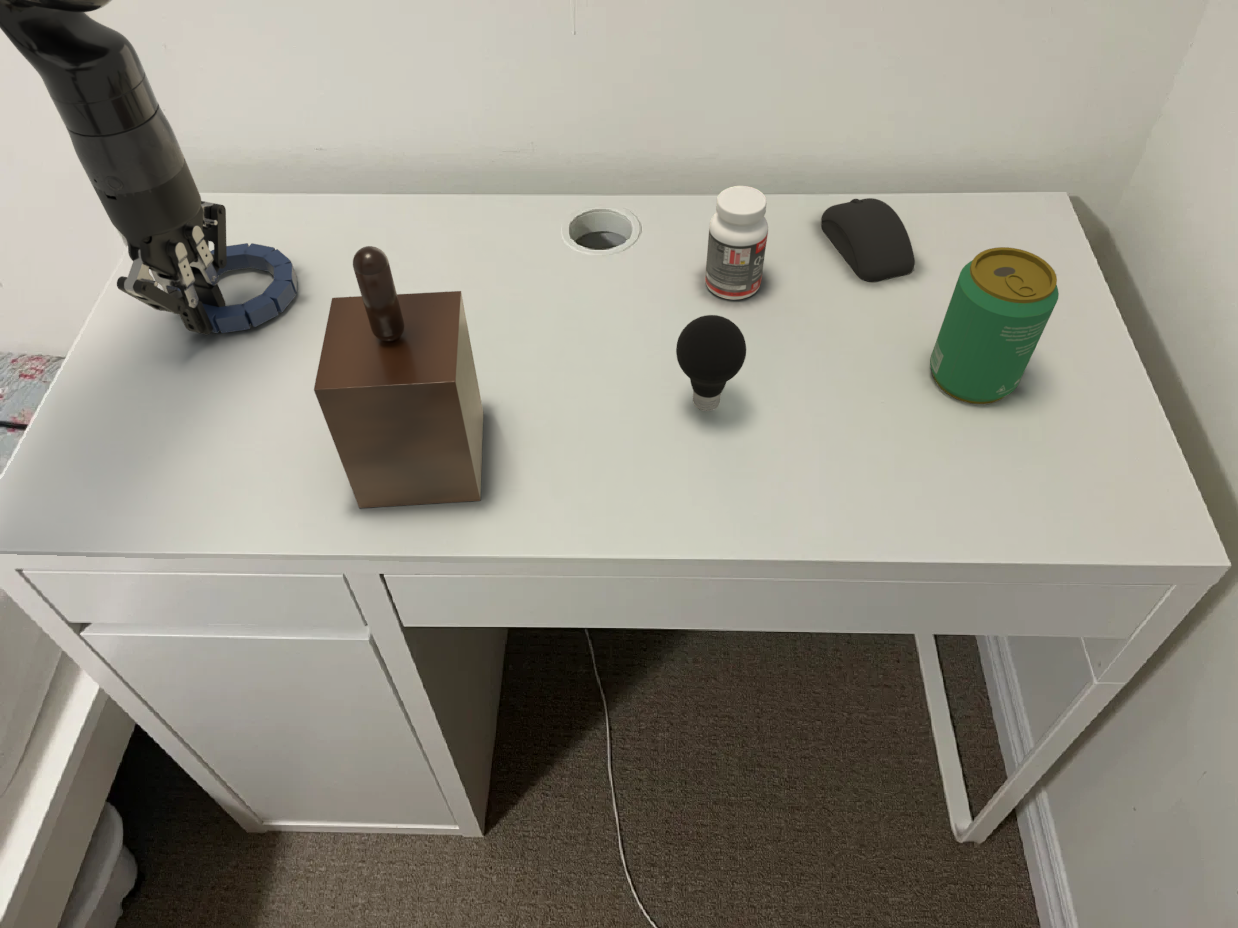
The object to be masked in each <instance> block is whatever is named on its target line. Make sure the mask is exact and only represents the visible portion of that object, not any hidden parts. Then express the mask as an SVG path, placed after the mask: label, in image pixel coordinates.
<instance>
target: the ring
mask: <svg viewBox="0 0 1238 928" xmlns="http://www.w3.org/2000/svg"><path fill="white" fill-rule="evenodd" d="M226 249H227V264H226V266H225V268H223V269H221V268H220V269H219V271H218V273H217V274H218V277H219V276H220V275H223V274H225V273H227V272H229V271H235V270H243V269H244V270H245V269H254V270H260V271H265V272H269V274H271V275H272V276H273V279H272V281H271V283H270V284H269V285H268V286H267V287H266V288H265V290H263V292H262V293H261V294H259V295H256V296H254V297H253V298H251V299H249V300H246V301H245V302H243V303H236V304H229V305H226V306H223V307H216V306H211V305H207V304H203V306H204V309H205V311H206V313H207V315H208V317H209V320H210V323H211V325H212V327H213V330H212V331H211V333H216V334H218V333H219V332H221V334H225V333H232V332H239V331H244V330H245V331H246V330H251V326H252V327H253V328H256V327H258V326H260V325H262V324H264V323H266V322H268V321H270V320H272V319H273V318H276V317H279V313H283V312H284V311H285V310H286V308H287V307H288V306H289V305H290V304H291V302H292V301H293V300H294V298H295V297H296V294H297V293H298V280H297V279H298V278H297V277H298V276H297V273H296V270H295V268H294V265H293V263H292V260H291V259H289V258H288V257H287V256H286V255H285V254H284V253H283V252H282V251H280V250H279V249H278V248H275V247H273V246H267V245H263V244H258V243H253V242H252V243H250V244H249V243H247V242H246V243H239V244H232V245H231V244H230V245H226ZM210 252H211V254H214V249H212V250H210ZM193 283H194V282H193ZM178 290H179V291H180V289H179V288H178Z"/></svg>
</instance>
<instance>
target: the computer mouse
mask: <svg viewBox="0 0 1238 928" xmlns="http://www.w3.org/2000/svg"><path fill="white" fill-rule="evenodd" d="M820 220H821V221H820V223H821V224H820V225H821V230H822V231H823V233H824V234H825V235H826V237H827V238H828V239H829V241H830V242H831V243H832V245H833V246H834V247H835V248H836V250H837V252H839V254H840V255H841V256H842V257H843V259H844V261H846V263H847V264H848V266H849V267H850V268H851V269H852V270H853V272H854V273H855V274H856V276H857V277H858V278H859V279H861V280H862V281H864V282H865V281H866V282H868V283H869V282H870V283H875V282H880V281H884V280H889V279H893V278H897V277H902V276H907V275H909V274H911V273H912V272H913V271H914V268H915V265H916V263H915V262H916V260H915V254H914V249H913V246H912V242H911V239H910V235H909V233H908V231H907V228H906V226H905V224H904V222H903V221H902V219H901V218H900V216H899V214H898V213H897V212H896V211H895V210H894V209H893V208H892V207H891V206H890V205H889V204H887V203H886V202H885V201H883V200H880V199H879V198H878V199H877V198H874V197H869V198H862V199H859V198H853V199H851V200H850V201H848V202H847V201H846V202H842V203H838V204H833V205H831V206H829V207H827V208H826V209H825V210H824V211H823V213H822V215H821V219H820Z"/></svg>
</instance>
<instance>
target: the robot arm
mask: <svg viewBox="0 0 1238 928" xmlns="http://www.w3.org/2000/svg"><path fill="white" fill-rule="evenodd" d="M112 1H113V0H0V30H1V31H2V32H3V33H4V34H5V36H6V38H7V39H8V40H9V41H10V42H11V43H12V44H13V46H14V47H15V48H16V50H17V51H18V52H19V53H20V54H21V55H22V56H23V57H24V59H25V60H26V61H27V62H28V63H29V64H30V65H31V67H33V69H34V70H35V71H36V73H38V75H39V76H40V78H41V80H42V81H43V84H44V86H45V87H46V90H47V92H48V94H49V96H50V99H51V100H52V102H53V105H54V106H55V108H56V111H57V112H58V114H59V116H60V118H61V120H62V123H63V124H64V126H65V128H66V130H67V133H68V135H69V139H70V140H71V143H72V147H73V149H74V152H75V154H76V156H77V159H78V160H79V162H80V164H81V166H82V168H83V170H84V172H85V174H86V176H87V178H88V180H89V182H90V184H91V185H92V188H93V190H94V192H95V194H96V195H97V197H98V199H99V201H100V203H101V205H102V207H103V209H104V211H105V213H106V215H107V216H108V218H109V221H110V222H111V224H112V225H113V226H114V228H115V229H116V230H117V231H118V232H119V233H120V234H121V235H122V237H124V238H125V240H126V244H127V254H128V256H129V259H130V260H131V261H132V264H131V267H130V269H129V273H128V275H127V276H124V275H122V276H119V277H118V278H117V280H116V287H117V289H118V290H120V291H121V292H123V293H125V294H127V295H128V296H131V298H133V299H136V300H137V301H139V302H141V303H143V304H145V305H147V306H148V307H150V308H152V309H154V310H155V311H159V312H160V311H161V312H162V311H163V312H166V313H167V312H168V313H173V314H175V315H179V316H180V319H181V321H182V322H183V324H184V327H185V328H186V330H188V331H189V332H193V333H196V334H201V335H206V336H208V335H210V334H211V333H212V332H211V331H212V330H213V327H212V325H211V323H210V320H209V317H208V315H207V313H206V311H205V309H204V306H203V304H207V305H211V306H216V307H223V306H227V304H226V299H225V298H224V295H223V293H222V290H221V288H220V286H219V279H220V278H219V276H218V274H217V273H218V271H219V269H220V268H221V269H223V268H225V266H226V264H227V249H226V246H227V209H226V206H225V205H223V204H222V203H221V204H220V203H216V202H215V203H214V202H209V201H203V200H202V197H201V194H200V192H199V189H198V186H197V183H196V182H195V179H194V178H193V177H194V176H193V175H192V173H191V170H190V168H189V165H188V162H187V161H186V158H185V156H184V154H183V151H182V149H181V146H180V144H179V141H178V139H177V137H176V134H175V132H174V129H173V127H172V125H171V123H170V122H169V120H168V118H167V116H166V115H165V114H164V112H163V109H162V108H161V105H160V104H159V102H158V100H157V97H156V95H155V92H154V90H153V87H152V84H151V82H150V80H149V78H148V76H147V74H146V71H145V69H144V66H143V63H142V61H141V58H140V57H139V54H138V53H137V51H136V48H135V47H134V46H133V44H132V43H131V42H130V40H129V39H128V38H127V37H126V36H125V35H124V34H123V33H121V32H119V31H117V30H115V29H113V28H111V27H109V26H106V25H104V24H103V23H101V22H98V21H96V20H95V19H93V18H92V17H90V16H89V15H88V14H87V13H88V12H95V11H97V10H100V9H102V8H104V7H106V6H107V5H109V4H110V3H111V2H112ZM210 242H211V243H212V244H213V250H214V254H211V252H210V251H211V250H210V245H209V244H210ZM150 273H151V274H152V275H151V274H150ZM193 282H194V283H193ZM158 285H160V286H161V288H162V289H161V288H159V287H158ZM178 288H179V289H180V291H179V290H178Z"/></svg>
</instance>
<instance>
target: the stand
mask: <svg viewBox="0 0 1238 928" xmlns="http://www.w3.org/2000/svg"><path fill="white" fill-rule="evenodd" d="M390 266H391V265H390V261H389V259H388V256H387V255H386V253H385V252H384V251H383V250H382V249H381V248H379V247H377V246H372V245H366V246H363V247H361V248H360V249H358V250H357V251H356V252H355V254H354V256H353V259H352V268H353V271H354V275H355V278H356V282H357V285H358V289H359V292H360V295H357V296H340V297H339V296H338V297H331V301H330V305H329V306H330V307H329V312H328V317H327V322H326V327H325V330H324V331H325V332H324V336H323V342H322V347H321V352H320V357H319V361H318V366H317V372H316V376H315V382H314V386H313V392H314V394H315V397H316V399H317V402H318V404H319V406H320V410H321V412H322V415H323V418H324V420H325V423H326V425H327V428H328V431H329V433H330V436H331V438H332V441H333V444H334V446H335V449H336V452H337V454H338V457H339V460H340V462H341V465H342V467H343V469H344V472H345V475H346V478H347V480H348V483H349V485H350V488H351V491H352V493H353V496H354V498H355V501H356V504H357V507H358V508H359V509H365V508H366V509H367V508H383V507H384V508H385V507H399V506H416V505H418V506H419V505H431V504H449V503H464V502H479V501H481V498H482V497H481V495H482V494H481V493H482V465H483V437H484V435H483V434H484V433H483V432H484V409H483V404H482V397H481V393H480V392H481V391H480V387H479V382H478V376H477V371H476V365H475V360H474V355H473V348H472V343H471V337H470V331H469V327H468V326H469V325H468V321H467V315H466V311H465V305H464V299H463V293H462V291H461V290H454V291H453V290H452V291H435V292H416V293H398V292H397V289H396V285H395V281H394V278H393V273H392V269H391V267H390Z"/></svg>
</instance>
